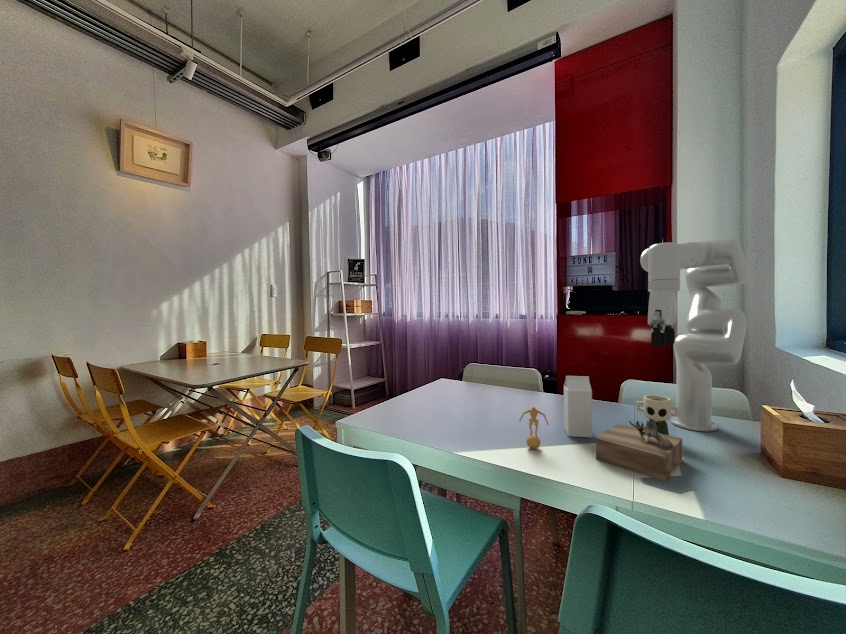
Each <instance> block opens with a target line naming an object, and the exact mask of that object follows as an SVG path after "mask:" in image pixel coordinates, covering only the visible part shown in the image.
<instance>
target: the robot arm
mask: <svg viewBox="0 0 846 634" xmlns="http://www.w3.org/2000/svg"><path fill="white" fill-rule="evenodd" d="M639 262H640V266H641V268H642V269H643V270H644V271H645V272H648V275H647V277H648V278H647V280H648V281H647V283H648V285H647V291H648V292H649V299H648V308H647V309H648V311H647V325H649V326H651V333H650V334H651V340H650V341H651V342H650V346H651V347H653V348H666V344H668V345H673V351H674V357H675V363H676V364H675V365H676V366H675V367H676V396H675V397H676V401H675V403H676V405H675V406H678V407H679V415H678V416H677V417H675V416H671V418H670V422H671V423H672V424H673V425H675V426H677V427H679V428H683V429H686V430H690V431H691V430H692V431H698V432H714V431H717V430H718V424H717V423H715V422H713V421H712V416H713V415H712V409H713V404H712V402H713V401H712V399H713V397H712V396H713V395H712V394H713V391H712V390H713V377H712V372H711V371H710V370H709V368H708V367H707V366H706V365H705V364H716V365H723V366H724V365H726V366H727V365H728V366H731V365H732V366H733V365H736V364H738V362H740V360H741V356H742V353H743V347H744V343H745V337H746V332H747V317H746V315H745V313H744V312H743V311H741V310H740V309H736V308H735V309H734V308H722V304H723V303H722V299H721V297H719V296H718V294H717V293H715V292H714V291H713V290H711V289H710V288H711V287H712V288H713V287H734V286H736V287H737V286H741V285H743V284H745V283H746V282H747V280H748V278H749V268H748V264H747V261H746V257H745V254H744V252H743V249H742V247H741V244H740V243H739V242H738V241H737V240H736V239H734V238H722V239H715V240H705V241H694V242H693V241H690V242H684V243H678V242H671V241H669V242H660V243H654V244H652V245H651V246H649V247H648V248H646V249H644V251H642V253H641V255H640V259H639ZM681 270H686V272H685V275H684V276H685V277H684V278H685V283H686V287H687V290H688V294H689V296H690V299H691V300H690V301H691V302H690V305H689V308H688V309H689V310H688V313H687V316H686V320H685V329H686V331H687V333H681V334H680V335H678V336H676V335H675V334H676V330H675V329H676V328H675V324H676V322H677V294H676V293H677V292H680V291H681ZM708 287H709V288H708ZM675 336H676V337H675Z"/></svg>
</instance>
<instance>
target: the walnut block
mask: <svg viewBox="0 0 846 634" xmlns="http://www.w3.org/2000/svg"><path fill="white" fill-rule="evenodd" d="M643 432H645V430H643ZM662 435H663V436H665V437H666V438H667V439H668V440H669V441H670V442H671V443H672V445H673V448H672V449H671V450H665V449H663V448H661V447H660V445H659V442H658V441H657V440H656V439H655V438H654V437H650V438H649V441H648V442H646V443H644V442H645V435H643V437H641V435H640V433H639V431H638V430H637V429H636V428H635V427H634V426H631V425H625V424H621V423H617V424H615V425H614V426H612V427H610V428H609V429H608V430H606V431H605V432H603V433H601V434H600V435H598V436H596V437H595V460H597V461H599V462H603V463H606V464H609V465H612V466H616V467H618V468H621V469H624V470H627V471H630V472H634V473H636V474H640V475H643V476H646V477H650V478H652V479H656V480H659V481H661V482H666V481H667V480H668V478H670V476H671V475H672V474H673V472H674V471H675V470H676V469H677V468H678V466H679V465H680V464H681V462H682V461H683V438H680V437H679V436H678V437H677V436H672V435H670V434H669V435H665V434H662Z"/></svg>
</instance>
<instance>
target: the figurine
mask: <svg viewBox="0 0 846 634" xmlns="http://www.w3.org/2000/svg"><path fill="white" fill-rule="evenodd" d="M528 413H529V415H530V418H529V419H528V427H529V430H530V431H529V435H528V437H527V438H526V445H527V446H528V447H529V448H530V449H532V450H536V449H539V448H540V446H541V439H540V437H539V436H538V430H539V428H538V427H539V419H538V418H537V416H538V414H539V415H542V416H543V418H544V420H545V422H546V425H549V422H548V421H549V420H548V419H547V416H546V414H545V413H544V412H541V411H540V410H538V409H537V408H536V407H535V406H532V407H531V409H530V408H529V409H528V410H525V411H523V412H522V414H521V416H520V418H519V423H521V421H522V419H523V417H524V415H526V414H528ZM533 424H534V426H535V428H534V430H535V431H534V434H533V428H532V426H533Z"/></svg>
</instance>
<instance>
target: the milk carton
mask: <svg viewBox="0 0 846 634" xmlns="http://www.w3.org/2000/svg"><path fill="white" fill-rule="evenodd" d="M563 429H564V431H565V433H566V434H567V437H575V438H576V437H577V438H578V437H579V438H592V436H593V390H592V386H591V383H590V376H584V375H583V376H580V375H579V376H578V375H566V376H565V381H564V383H563Z"/></svg>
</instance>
